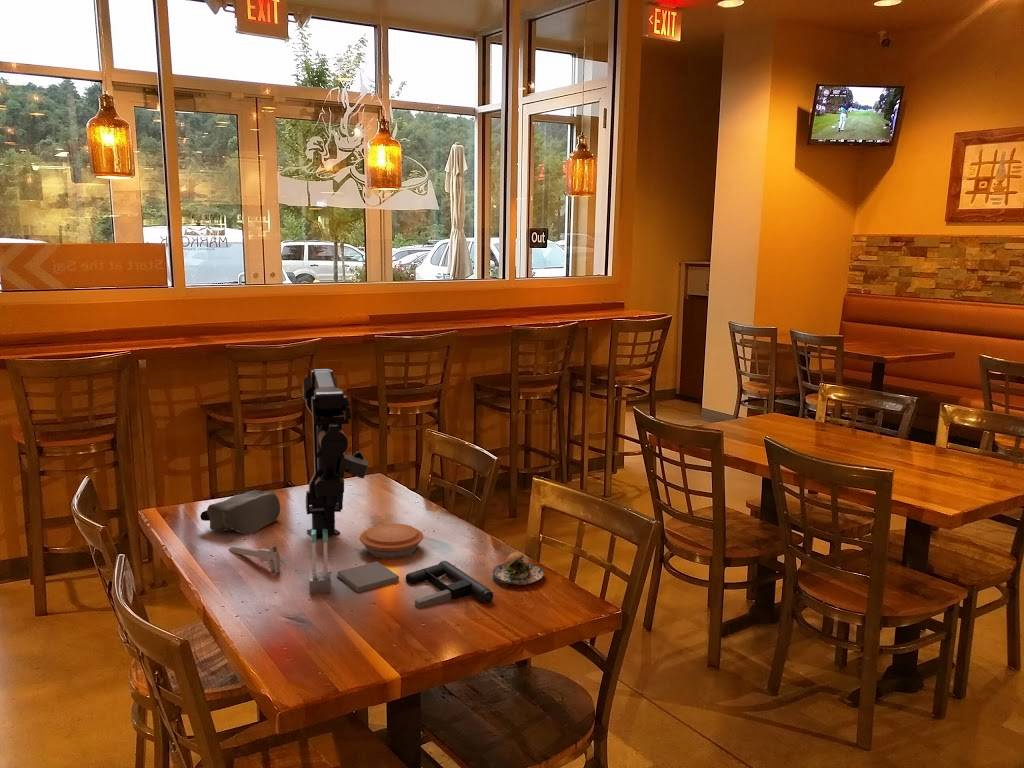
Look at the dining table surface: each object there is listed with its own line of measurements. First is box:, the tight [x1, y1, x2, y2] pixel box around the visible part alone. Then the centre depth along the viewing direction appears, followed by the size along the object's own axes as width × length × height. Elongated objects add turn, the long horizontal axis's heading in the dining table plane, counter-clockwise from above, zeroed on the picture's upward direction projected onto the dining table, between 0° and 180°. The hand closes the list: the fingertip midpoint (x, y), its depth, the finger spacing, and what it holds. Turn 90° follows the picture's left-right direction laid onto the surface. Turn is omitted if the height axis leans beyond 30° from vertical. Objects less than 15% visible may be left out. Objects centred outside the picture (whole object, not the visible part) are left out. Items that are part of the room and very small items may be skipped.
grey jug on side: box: [199, 489, 281, 535], centre depth 213 cm, size 20×12×8 cm, turn 152°
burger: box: [491, 545, 546, 589], centre depth 184 cm, size 12×12×8 cm
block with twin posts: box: [308, 529, 332, 595], centre depth 175 cm, size 4×4×13 cm
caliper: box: [228, 545, 281, 574], centre depth 190 cm, size 21×1×6 cm, turn 49°
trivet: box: [336, 561, 400, 593], centre depth 182 cm, size 10×10×1 cm
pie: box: [359, 523, 424, 559], centre depth 199 cm, size 15×16×5 cm
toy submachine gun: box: [404, 560, 494, 609], centre depth 177 cm, size 3×20×16 cm
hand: (331, 512), depth 186 cm, fingers open, 9 cm apart
